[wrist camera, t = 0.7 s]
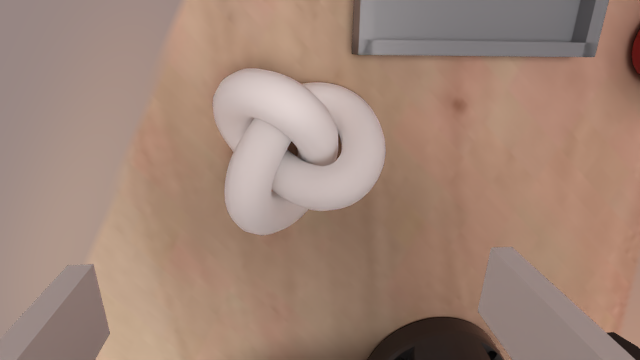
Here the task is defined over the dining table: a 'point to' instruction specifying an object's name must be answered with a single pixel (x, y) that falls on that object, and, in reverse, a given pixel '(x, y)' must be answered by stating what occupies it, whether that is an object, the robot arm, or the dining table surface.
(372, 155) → the white trefoil knot
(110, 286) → the dining table surface
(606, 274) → the dining table surface
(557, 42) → the tray
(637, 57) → the smoothie
